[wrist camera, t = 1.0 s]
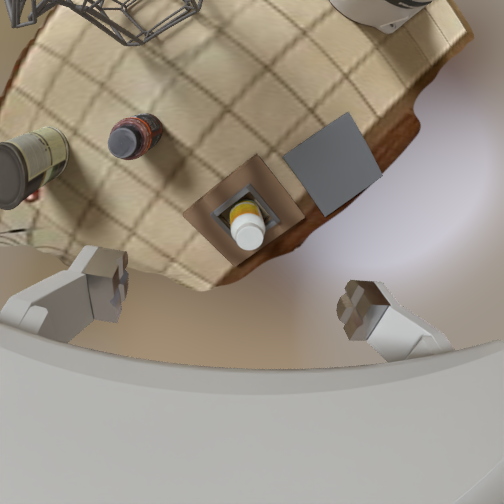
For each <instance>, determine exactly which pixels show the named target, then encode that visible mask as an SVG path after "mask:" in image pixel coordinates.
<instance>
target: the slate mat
mask: <svg viewBox="0 0 504 504" xmlns="http://www.w3.org/2000/svg"><path fill="white" fill-rule="evenodd" d="M283 158H284V160H285V161H286V162H287V164H288V165H289V166H290V168H291V169H292V171H293V172H294V173H295V175H296V176H297V177H298V179H299V180H300V182H301V183H302V184H303V186H304V187H305V189H306V190H307V192H308V193H309V194H310V196H311V197H312V199H313V200H314V202H315V203H316V205H317V206H318V207H319V209H320V210H321V212H322V213H323V215H324V216H325V217H326V216H327V215H329V214H330V213H332V212H333V211H334V210H336V209H337V208H339V207H340V206H341V205H343V204H344V203H346V202H347V201H348V200H350V199H351V198H353V197H354V196H355V195H357V194H358V193H360V192H361V191H362V190H364V189H365V188H367V187H368V186H369V185H371V184H372V183H374V182H375V181H376V180H378V179H379V178H381V177H382V176H383V175H382V173H381V171H380V169H379V167H378V165H377V163H376V161H375V159H374V157H373V155H372V153H371V151H370V149H369V147H368V145H367V143H366V142H365V140H364V138H363V136H362V134H361V133H360V131H359V129H358V127H357V126H356V124H355V122H354V120H353V119H352V117H351V115H350V114H349V112H347V113H345V114H344V115H342V116H341V117H339V118H338V119H336V120H335V121H333V122H332V123H330V124H329V125H327V126H326V127H324V128H323V129H321V130H320V131H318V132H317V133H315V134H314V135H313V136H311V137H310V138H308V139H307V140H305V141H304V142H302V143H301V144H300V145H298V146H297V147H295V148H294V149H292V150H291V151H290V152H288V153H287V154H286V155H284V156H283Z"/></svg>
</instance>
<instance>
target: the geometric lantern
mask: <svg viewBox="0 0 504 504" xmlns="http://www.w3.org/2000/svg"><path fill="white" fill-rule="evenodd" d="M31 1H32V12H31V13H30V14H29V16H28V20H29V22H25V23H21V24H20V17H21V13H22V10H23V7H24V5H25V2H26V0H5V4H6V7H7V11H8V14H9V18H10V21H11V26H12V28H20V27H24V26H28V25H32V24H35V23H37V17H39V16H40V15H42V14H43V13H45V12H46V11H48V10H49V9H51V8H52V7H54V6H56V5H57V4H59V5H63V6H66V7H69V8H70V9H71V10H73V11H74V12H76V13H78V14H79V15H81V16H82V17H84V18H85V19H87V20H88V21H90V22H91V23H93V24H94V25H96V26H97V27H98V28H100V29H101V30H103V31H104V32H106V33H107V34H108V35H110V36H111V37H113V38H114V39H115V40H117V41H118V42H119V43H121V44H122V45H124V46H140V45H144V44H145V43H146V42H148V41H149V40H151V39H153V38H154V37H156V36H157V35H159V34H160V33H162V32H164V31H165V30H167V29H169V28H170V27H172V26H174V25H175V24H177V23H179V22H181V21H182V20H184V19H186V18H188V17H190V16H192V15H194V14H195V13H197V12H199V11H200V9H201V6H202V2H203V0H199V3H198V6H197V4H196V2H195V0H183V1H184V2H185V6H184V7H182V8H180V9H179V10H177V11H176V12H174V13H173V14H171V15H170V16H168V17H167V18H165V19H164V20H163V21H161V22H160V23H158V24H157V25H156V26H154V27H153V28H152V29H150V30H149V31H144V30H143V29H142V28H141V27H140V26H139V25H138V24H137V23H136V22H135V20H134V19H133V18H132V17H131V16H130V15H129V14H128V13H127V7H128V6H130V5H131V4H132V3H134V2H135V1H136V0H133V1H132V2H131V3H129V4H128V5H127V6H126V5H125V4H126V3H127V2H128V1H130V0H127V1H125V2H124V3H121V2H119V1H117V0H113V1H114V2H116V3H118V4H120V5H121V8H102V6H103V3H104V0H98V1H96V2H94V1H93V0H84V3H83V5H76V4H73V2H72V1H71V0H66V1H64V0H42V1H41V2H40V3H39V4H38V5H37V6H36V0H31ZM87 1H88V2H89V3H91V4H92V5H91V6H90V7H88V6H86V3H87ZM48 2H50V3H48ZM189 2H191V3H192V5H193V7H191V6H190V4H189ZM47 3H48V4H47ZM99 3H100V5H98V4H99ZM46 4H47V5H46ZM123 6H124V7H125V11H124V10H123ZM94 7H96V8H97V9H98V10H99V11H100V13H101V14H100V13H99V12H97V11H96V10H94V9H93V8H94ZM184 8H185V9H186V10H187V11H185V12H184V13H182V14H180V15H179V16H177V17H176V18H174V19H173V20H171V21H170V22H168V23H167V24H166V25H164V26H163V27H161V28H160V29H158V30H157V31H156V32H152V30H154V29H155V28H157V27H158V26H159V25H161V24H162V23H163V22H165V21H166V20H168V19H169V18H171V17H172V16H173V15H175V14H176V13H178V12H180V11H181V10H183V9H184ZM190 9H194V11H192V12H191V13H189V14H187V15H185V16H183V17H181V16H182V15H184V14H186V13H187V12H189V11H190ZM104 10H121V11H122V12H123V13H124V14H125V15H126V16H127V17H128V18H129V19H130V20H131V21H132V22H133V23H134V24H135V25H136V26H137V27H138V28H139V30H140V31H141V33H140V34H139V35H137V36H136V37H135V36H134V35H133V34H131V33H130V32H128V31H127V30H125V29H124V28H122V27H121V26H119V25H118V24H116V23H115V22H113V21H112V20H110V19H109V17H108V16H107V15H106V13H105V12H104ZM84 11H86V12H87V13H89V14H91V15H93V16H95V17H96V18H98V19H100V20H102V21H103V22H105V23H107V24H108V25H110V27H111V28H112V30H113V31H114V32H115V34H116V35H115V34H114V33H113V32H112V31H110V30H109V29H108V28H106V27H105V26H104V25H102V24H101V23H100V22H98V21H97V20H96V19H94V18H93V17H92V16H90V15H89V14H87V13H86V12H84ZM179 17H181V18H179ZM178 18H179V19H178ZM176 19H178V20H176ZM175 20H176V21H175ZM173 21H174V22H173ZM170 23H171V24H170ZM118 31H120V32H122V33H123V34H125V35H126V36H128V37H130V38H131V39H132V40H130V41H129V42H127V43H126V41H125V40H124V39H123V37H122V36H121V34H120V33H119V32H118ZM149 33H151V34H149ZM142 34H144V35H145V38H144V41H141V40H140V39H138V37H139V36H141V35H142ZM148 36H150V37H148ZM147 37H148V38H147ZM132 41H136V43H131V42H132Z"/></svg>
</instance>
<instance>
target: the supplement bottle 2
mask: <svg viewBox="0 0 504 504" xmlns="http://www.w3.org/2000/svg"><path fill="white" fill-rule="evenodd" d="M230 227H231V234H232V237H233V238H234V240H235V241H236V242H237V244H238V246H239V247H240V248H242V249H244V250H254V249H256V248H258V247H259V246H260V245H261V244H262V242H263V236H264V234H265V224H264V220H263V217H262V214H261V211H260V208H259V206H258V205H257V204H256V203H255V202H254V201H252V200H248V199H242V200H239V201H237V202H235V203H234V204H233V205H232V207H231V209H230Z"/></svg>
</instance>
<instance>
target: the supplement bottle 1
mask: <svg viewBox="0 0 504 504" xmlns="http://www.w3.org/2000/svg"><path fill="white" fill-rule="evenodd" d="M161 134H162V126H161V123H160V121H159V120H158V118H156V117H155V116H154V115H151V114H147V113H146V114H139V115H135V116H132V117H129V118H125V119H123V120H121V121H119V122H118V123H117V124H116V125H115V126H114V127H113V129H112V130H111V133H110V137H109V140H108V147H109V150H110V152H111V153H112V154H113V155H114V156H115V157H118V158H121V159H124V160H133V159H136V158H139V157H140V156H142V155H143V154H144V153H146V152H147V151H148V150H149V149H150V148H152V147H153V146H154V145H155V144H156V143H157V142H158V141H159V139H160V137H161Z"/></svg>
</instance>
